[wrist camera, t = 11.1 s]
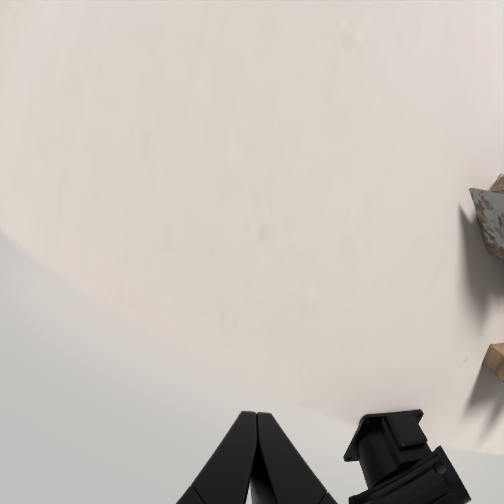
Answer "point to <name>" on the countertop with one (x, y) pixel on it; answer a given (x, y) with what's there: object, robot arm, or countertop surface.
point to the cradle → (495, 359)
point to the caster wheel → (491, 215)
